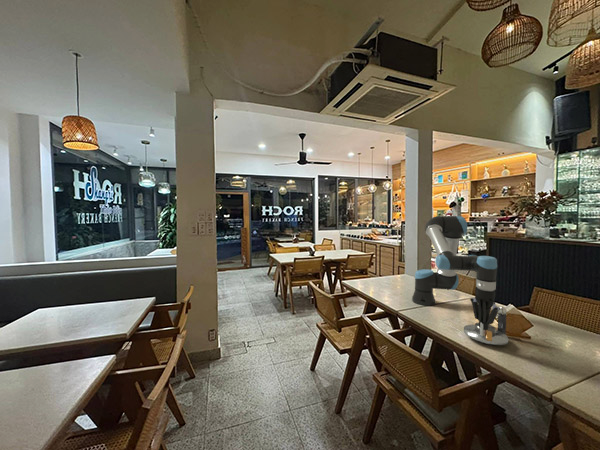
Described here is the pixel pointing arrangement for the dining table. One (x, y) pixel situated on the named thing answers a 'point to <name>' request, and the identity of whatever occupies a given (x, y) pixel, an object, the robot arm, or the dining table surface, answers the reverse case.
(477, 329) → the cover
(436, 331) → the dining table surface
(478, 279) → the robot arm
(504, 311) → the indicator post
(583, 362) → the dining table surface
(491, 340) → the platter
